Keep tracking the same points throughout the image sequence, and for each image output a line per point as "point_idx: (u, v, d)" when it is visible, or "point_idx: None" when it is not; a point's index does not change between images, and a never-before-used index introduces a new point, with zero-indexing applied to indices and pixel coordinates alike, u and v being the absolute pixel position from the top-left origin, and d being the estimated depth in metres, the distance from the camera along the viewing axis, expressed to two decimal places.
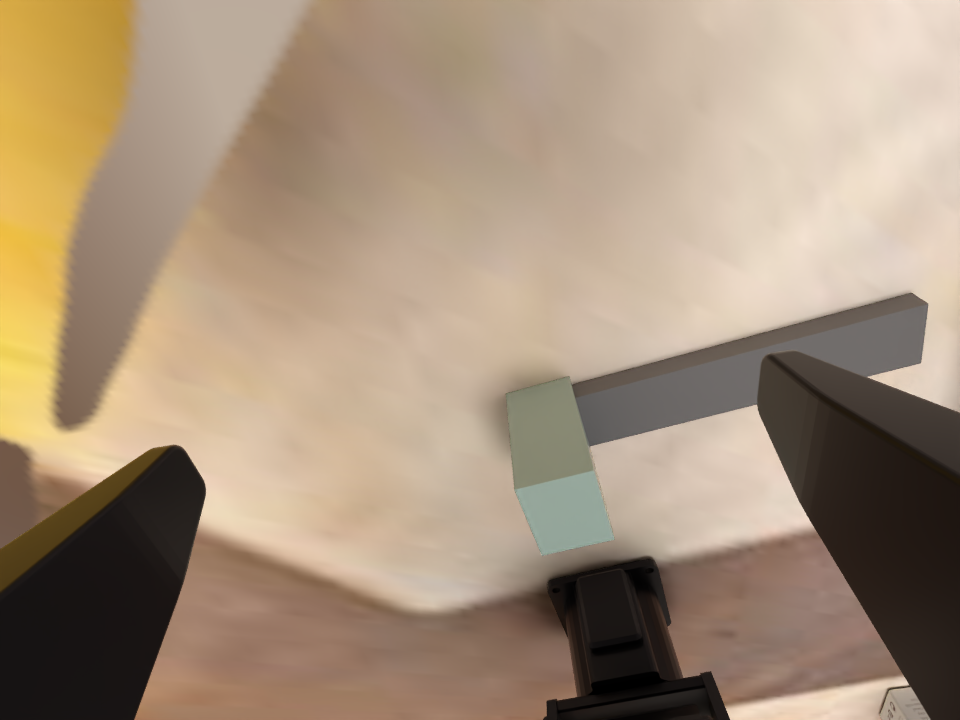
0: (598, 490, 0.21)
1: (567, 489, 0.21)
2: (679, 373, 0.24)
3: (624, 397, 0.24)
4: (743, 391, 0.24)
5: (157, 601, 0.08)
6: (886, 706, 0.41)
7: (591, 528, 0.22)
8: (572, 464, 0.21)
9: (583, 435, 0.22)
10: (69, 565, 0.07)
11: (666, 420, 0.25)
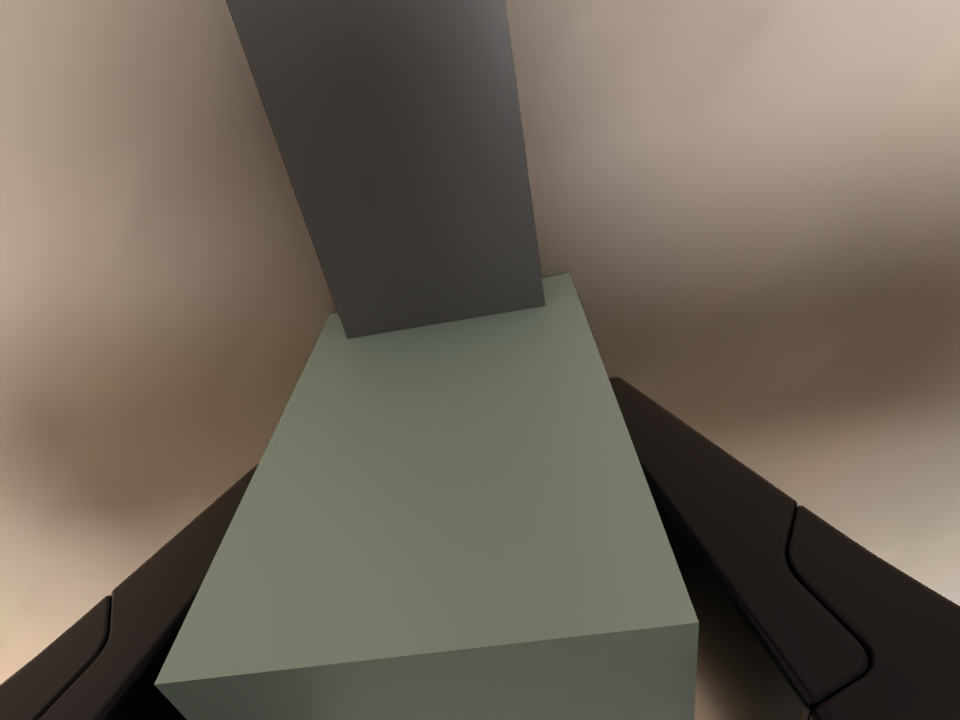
0: (293, 671, 0.04)
1: None
2: None
3: (348, 193, 0.07)
4: None
5: None
6: None
7: (569, 692, 0.04)
8: None
9: (246, 496, 0.06)
10: None
11: (472, 20, 0.06)
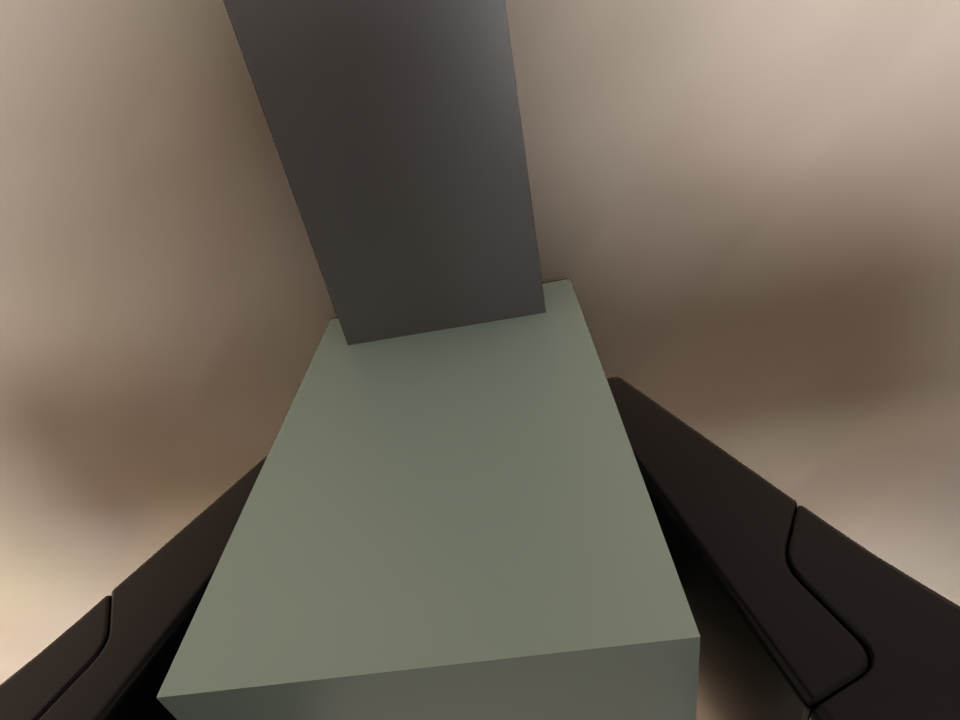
0: (295, 684, 0.04)
1: None
2: None
3: (349, 201, 0.07)
4: None
5: None
6: None
7: (570, 704, 0.04)
8: None
9: (247, 505, 0.06)
10: None
11: (473, 29, 0.06)
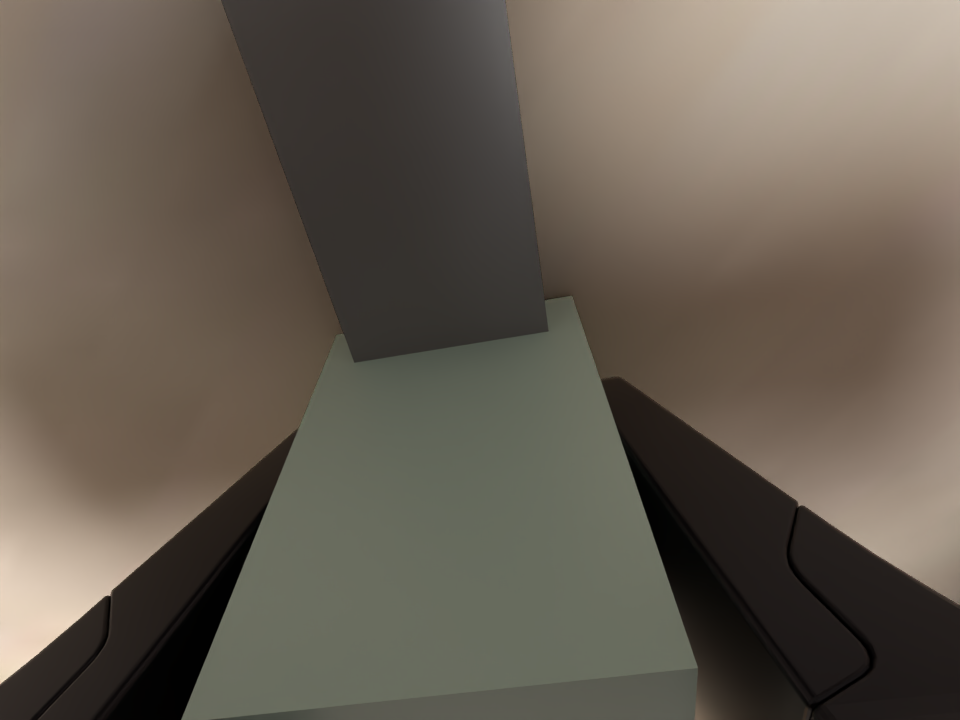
0: (313, 710, 0.04)
1: None
2: (242, 17, 0.06)
3: (356, 225, 0.07)
4: None
5: None
6: None
7: None
8: None
9: (261, 528, 0.06)
10: None
11: (479, 61, 0.06)
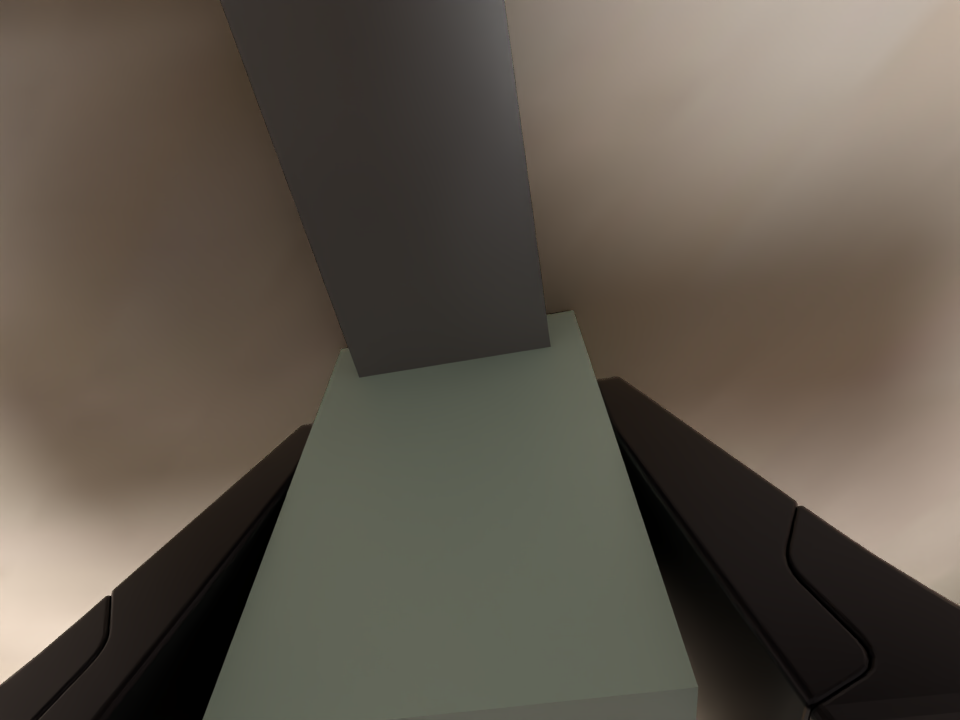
0: None
1: None
2: (250, 46, 0.06)
3: (362, 245, 0.07)
4: None
5: None
6: None
7: None
8: None
9: (270, 545, 0.06)
10: (259, 538, 0.06)
11: (482, 87, 0.06)
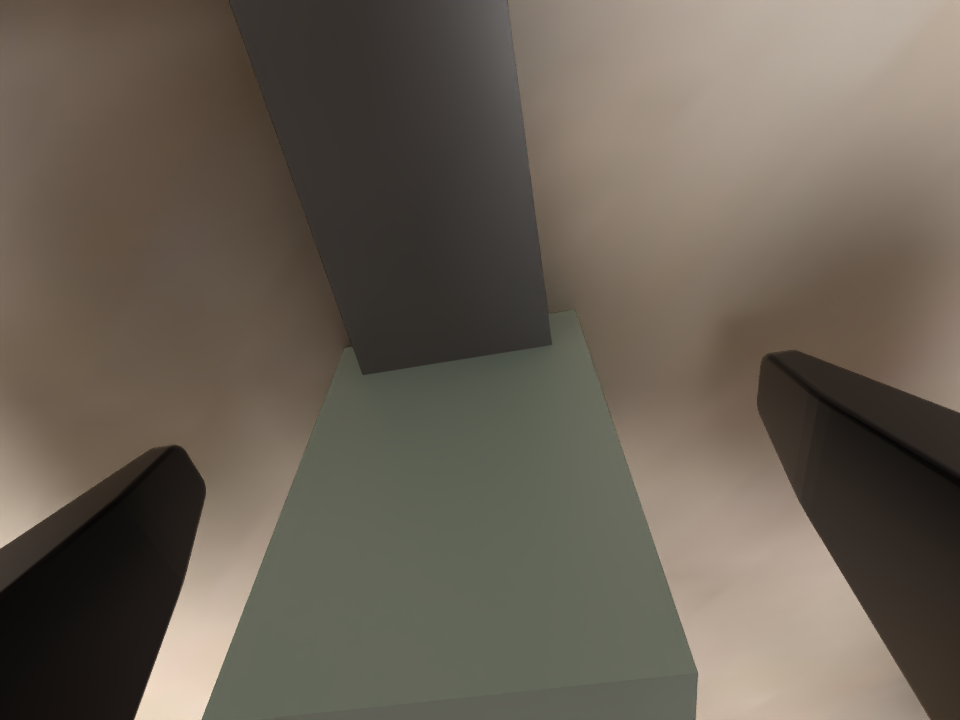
0: (327, 713, 0.04)
1: None
2: (258, 46, 0.06)
3: (366, 243, 0.08)
4: None
5: (157, 600, 0.08)
6: None
7: None
8: None
9: (274, 537, 0.06)
10: (67, 566, 0.07)
11: (485, 87, 0.07)
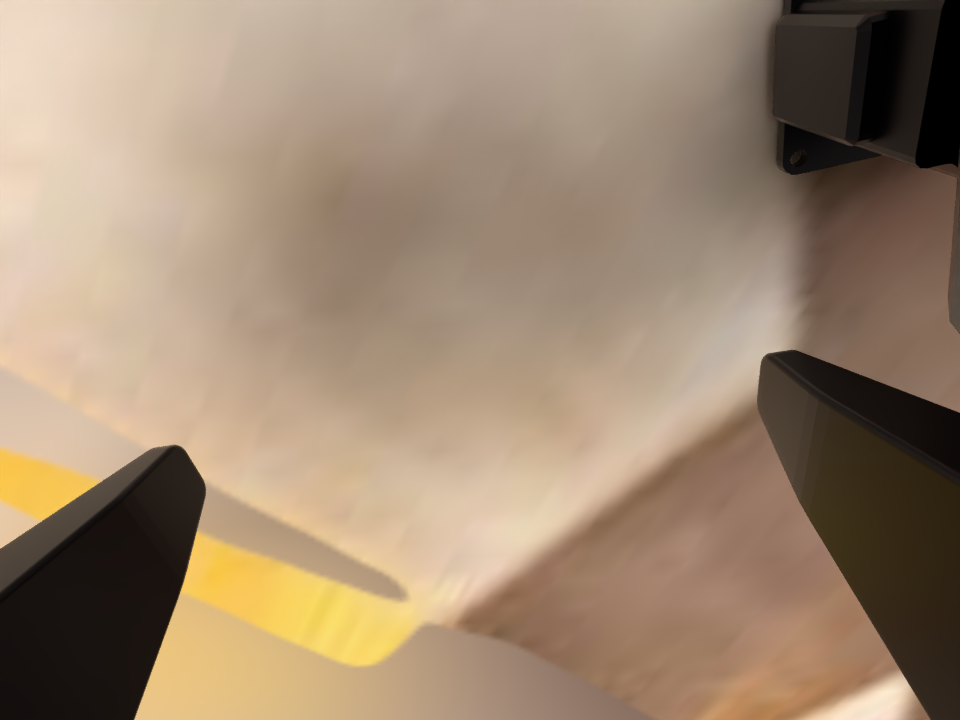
0: None
1: None
2: None
3: None
4: None
5: (157, 600, 0.08)
6: None
7: None
8: None
9: None
10: (68, 565, 0.07)
11: None
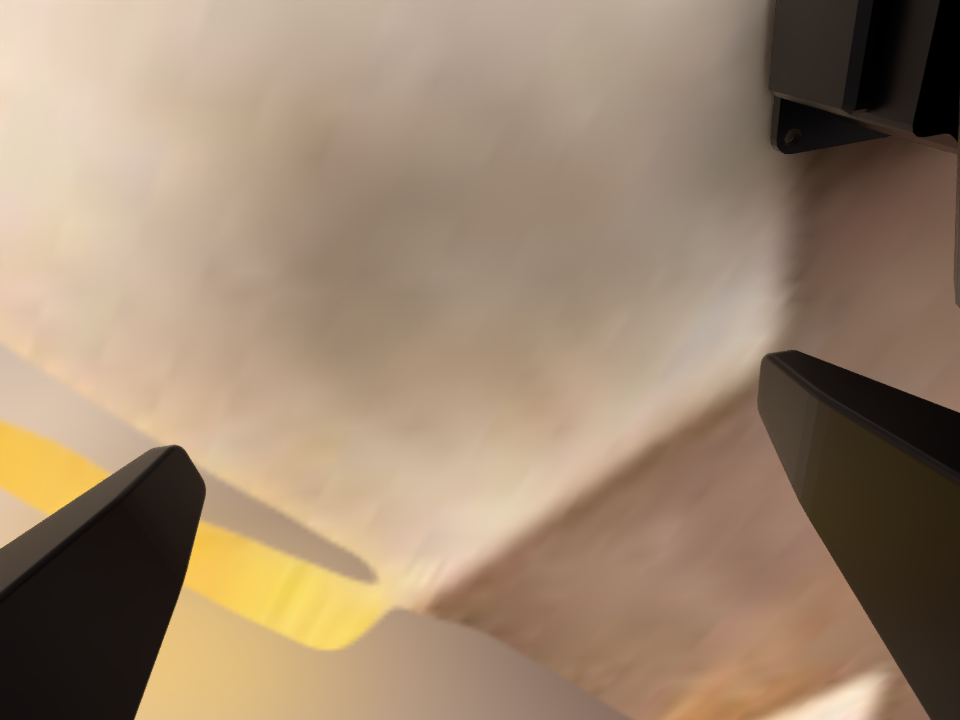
0: None
1: None
2: None
3: None
4: None
5: (157, 600, 0.08)
6: None
7: None
8: None
9: None
10: (68, 565, 0.07)
11: None
